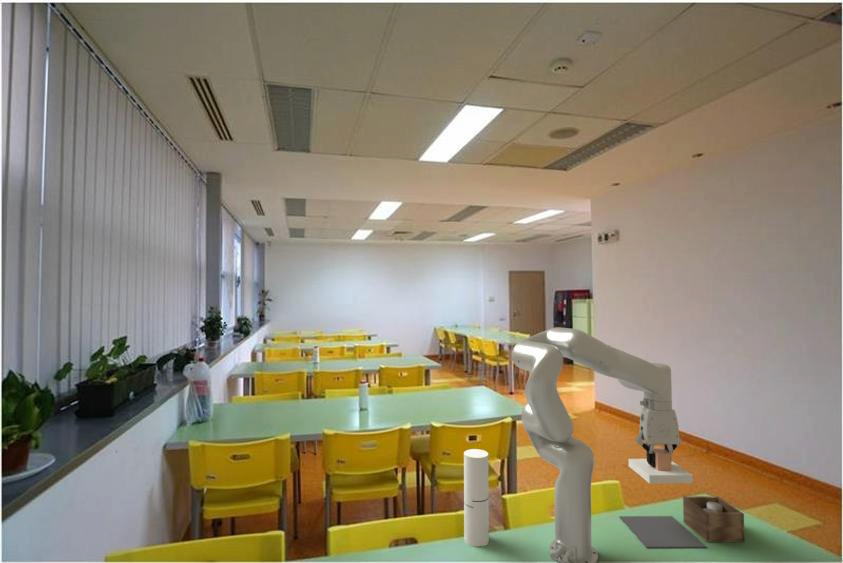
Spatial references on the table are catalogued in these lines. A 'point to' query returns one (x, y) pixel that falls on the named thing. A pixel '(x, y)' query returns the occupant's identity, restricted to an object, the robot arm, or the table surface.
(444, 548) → the table surface
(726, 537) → the box
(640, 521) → the mat
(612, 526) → the table surface
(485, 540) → the cylindrical container
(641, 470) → the lid
